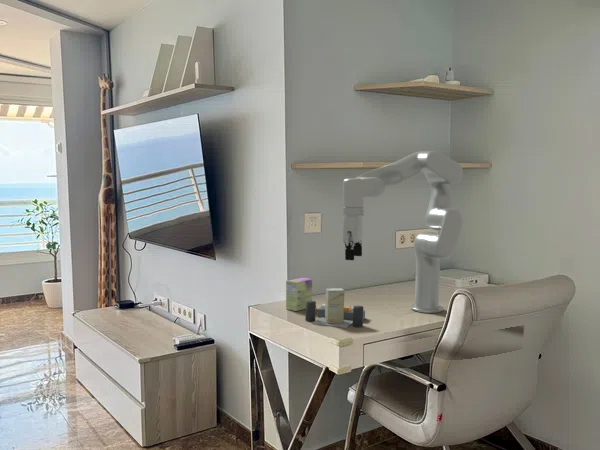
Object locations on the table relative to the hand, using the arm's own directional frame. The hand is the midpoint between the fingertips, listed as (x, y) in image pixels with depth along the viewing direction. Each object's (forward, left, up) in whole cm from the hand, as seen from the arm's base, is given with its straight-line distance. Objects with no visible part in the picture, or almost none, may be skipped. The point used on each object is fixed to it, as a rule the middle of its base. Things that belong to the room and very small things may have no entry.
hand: (353, 257), depth 205 cm
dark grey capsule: (+6, +4, -24) cm, 25 cm away
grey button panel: (+3, -5, -24) cm, 24 cm away
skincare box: (+6, -5, -24) cm, 25 cm away
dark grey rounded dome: (+6, -15, -24) cm, 28 cm away
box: (-10, -26, -24) cm, 37 cm away
